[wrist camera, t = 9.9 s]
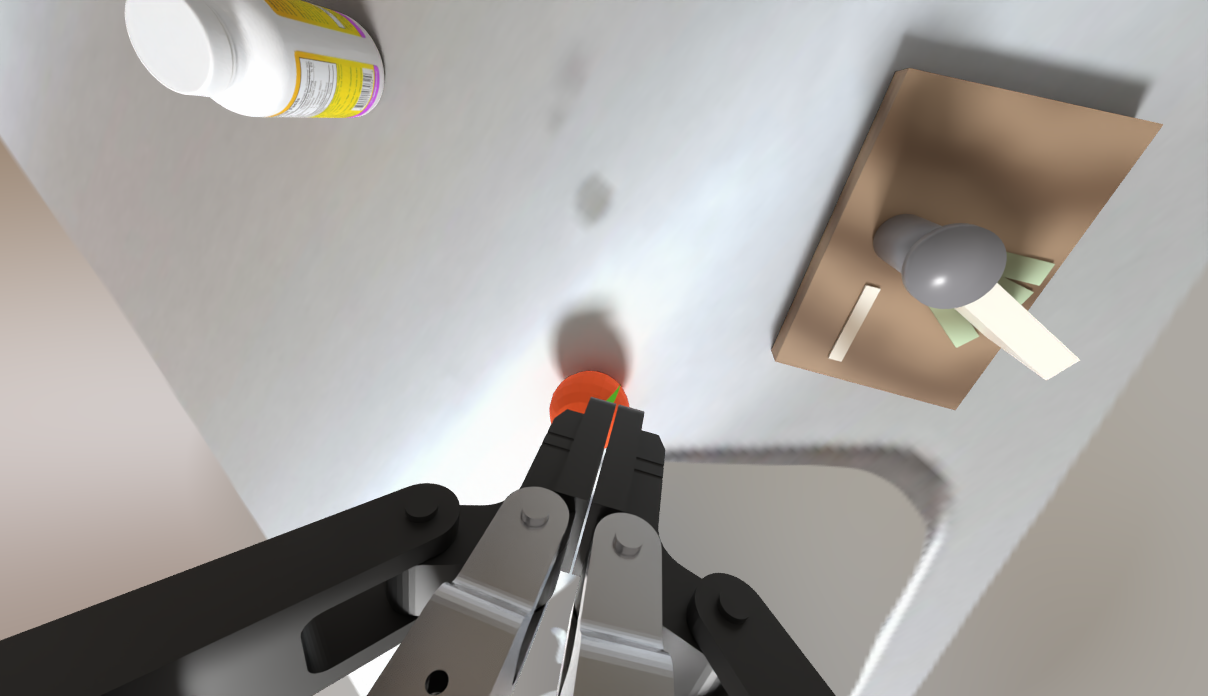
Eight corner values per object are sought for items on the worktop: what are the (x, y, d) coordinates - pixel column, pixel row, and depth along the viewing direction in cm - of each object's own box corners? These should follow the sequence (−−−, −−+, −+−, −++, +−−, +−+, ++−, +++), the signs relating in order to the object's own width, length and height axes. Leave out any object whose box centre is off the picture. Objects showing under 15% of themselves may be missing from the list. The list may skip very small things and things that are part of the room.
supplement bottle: (291, 25, 32) (75, -28, 21) (367, 2, 31) (178, -70, 20) (330, 126, 35) (157, 126, 24) (401, 109, 34) (253, 101, 22)
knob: (848, 243, 30) (888, 274, 24) (906, 189, 28) (968, 207, 22) (965, 347, 32) (1032, 402, 25) (1029, 303, 30) (1118, 350, 23)
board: (895, 71, 27) (910, 67, 25) (1132, 124, 26) (1166, 124, 24) (771, 350, 37) (775, 362, 35) (942, 396, 36) (956, 411, 34)
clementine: (597, 334, 39) (578, 374, 33) (657, 382, 40) (650, 429, 34) (547, 390, 43) (522, 435, 36) (603, 432, 44) (588, 483, 37)
